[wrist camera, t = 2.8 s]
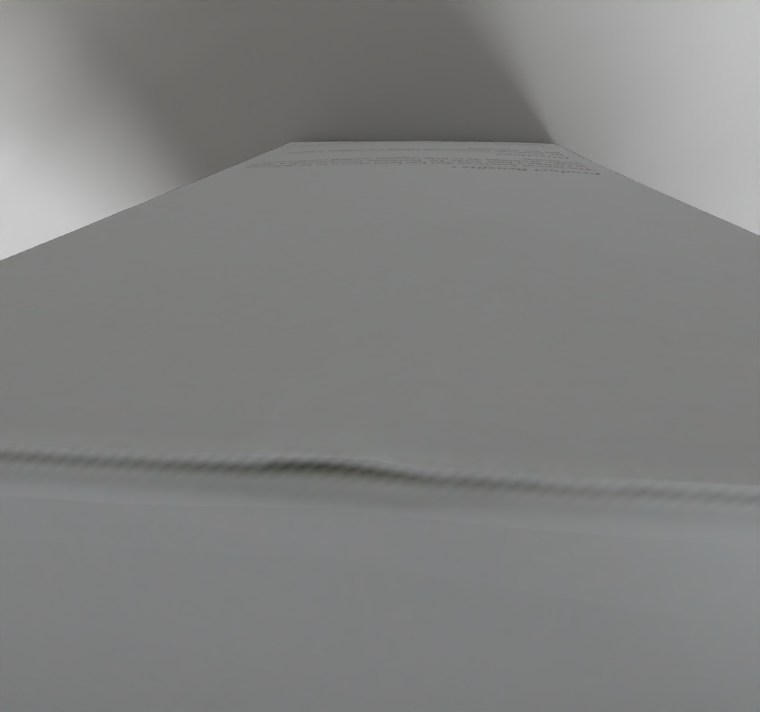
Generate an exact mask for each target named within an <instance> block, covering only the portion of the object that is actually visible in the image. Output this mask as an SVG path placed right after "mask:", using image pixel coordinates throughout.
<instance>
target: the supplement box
mask: <svg viewBox="0 0 760 712" xmlns="http://www.w3.org/2000/svg"><path fill="white" fill-rule="evenodd" d="M0 712H760V236H759V235H757V234H754V233H752V232H750V231H748V230H745V229H743V228H741V227H739V226H736V225H734V224H732V223H729V222H727V221H725V220H723V219H720V218H718V217H716V216H713V215H711V214H709V213H706V212H704V211H702V210H699V209H697V208H695V207H693V206H690V205H688V204H686V203H683V202H681V201H679V200H677V199H674V198H672V197H670V196H667V195H665V194H663V193H661V192H658V191H656V190H654V189H652V188H649V187H647V186H645V185H643V184H640V183H638V182H636V181H634V180H632V179H630V178H627V177H625V176H623V175H621V174H618V173H616V172H614V171H612V170H609V169H607V168H605V167H603V166H601V165H598V164H596V163H594V162H591V161H589V160H587V159H585V158H584V157H582V156H579V155H577V154H575V153H573V152H571V151H569V150H567V149H564V148H562V147H560V146H558V145H557V144H545V143H519V142H458V141H356V142H289V143H287V144H286V145H284V146H281V147H279V148H276V149H274V150H271V151H268V152H266V153H263V154H261V155H259V156H256V157H254V158H251V159H249V160H247V161H244V162H242V163H240V164H237V165H234V166H232V167H229V168H227V169H225V170H222V171H220V172H217V173H215V174H212V175H210V176H207V177H205V178H203V179H200V180H198V181H195V182H193V183H190V184H188V185H185V186H183V187H180V188H178V189H175V190H173V191H170V192H168V193H166V194H163V195H161V196H158V197H156V198H154V199H151V200H149V201H146V202H144V203H141V204H139V205H136V206H134V207H131V208H129V209H126V210H123V211H121V212H118V213H116V214H114V215H111V216H109V217H106V218H104V219H102V220H99V221H97V222H94V223H92V224H90V225H87V226H85V227H82V228H80V229H78V230H75V231H73V232H70V233H68V234H65V235H63V236H60V237H58V238H55V239H53V240H50V241H48V242H46V243H43V244H41V245H38V246H36V247H33V248H31V249H28V250H26V251H23V252H21V253H18V254H16V255H13V256H11V257H8V258H6V259H3V260H1V261H0Z"/></svg>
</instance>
